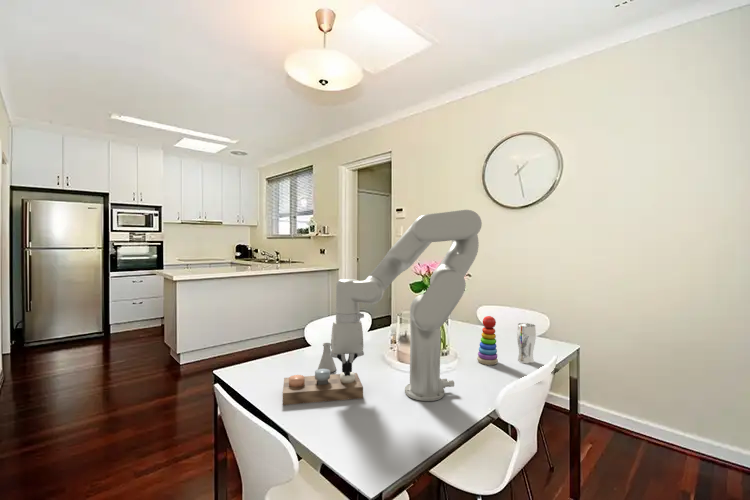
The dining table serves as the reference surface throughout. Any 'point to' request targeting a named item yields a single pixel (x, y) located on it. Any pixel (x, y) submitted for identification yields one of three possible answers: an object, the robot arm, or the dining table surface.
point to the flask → (327, 359)
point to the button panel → (322, 390)
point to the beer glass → (526, 342)
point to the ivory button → (347, 377)
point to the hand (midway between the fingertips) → (346, 374)
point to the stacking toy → (488, 343)
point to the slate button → (322, 376)
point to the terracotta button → (296, 380)
